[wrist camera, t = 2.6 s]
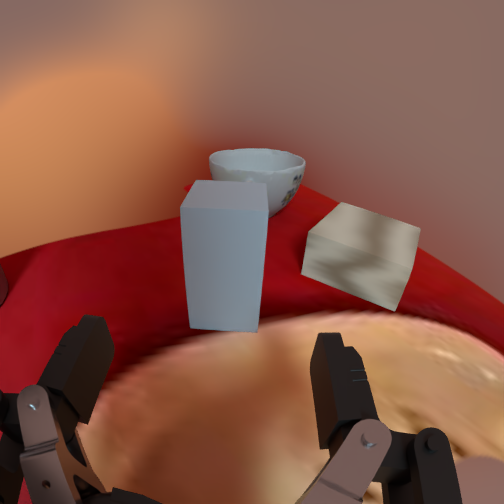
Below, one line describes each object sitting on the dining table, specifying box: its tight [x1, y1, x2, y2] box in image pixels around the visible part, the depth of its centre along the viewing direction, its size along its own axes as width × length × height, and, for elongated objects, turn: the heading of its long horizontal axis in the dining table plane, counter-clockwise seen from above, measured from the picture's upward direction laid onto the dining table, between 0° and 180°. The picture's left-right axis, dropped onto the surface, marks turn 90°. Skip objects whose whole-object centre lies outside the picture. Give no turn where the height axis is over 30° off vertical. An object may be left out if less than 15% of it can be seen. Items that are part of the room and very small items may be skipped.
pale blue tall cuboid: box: [180, 180, 269, 332], centre depth 22 cm, size 5×5×10 cm
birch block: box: [301, 202, 420, 311], centre depth 30 cm, size 10×10×5 cm
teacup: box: [209, 148, 306, 218], centre depth 39 cm, size 15×12×8 cm
